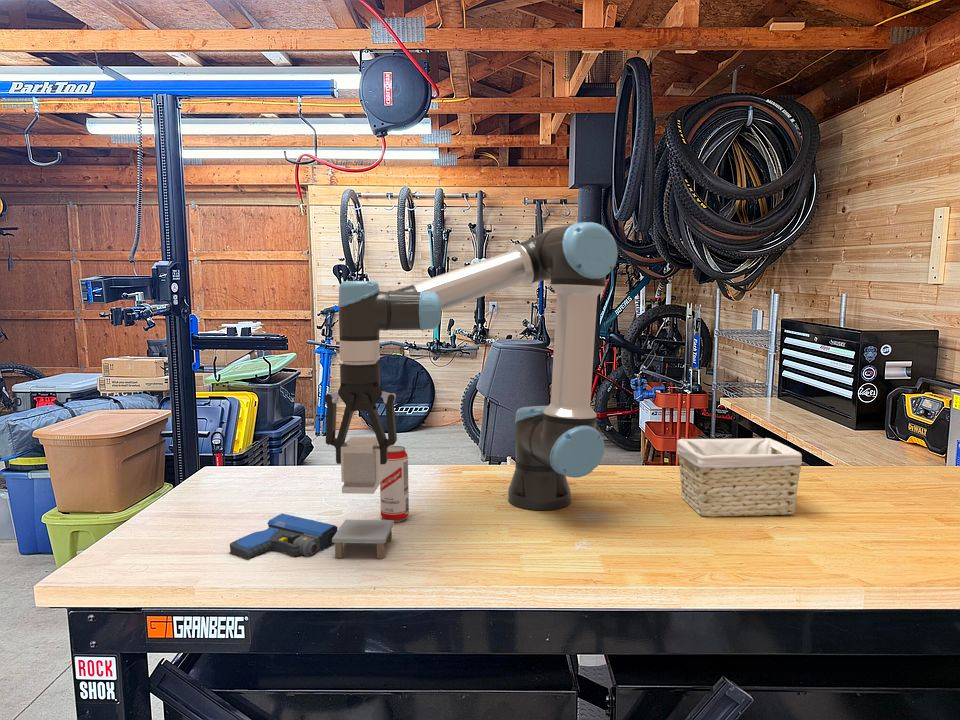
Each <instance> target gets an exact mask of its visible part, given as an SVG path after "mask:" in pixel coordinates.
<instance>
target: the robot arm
mask: <svg viewBox="0 0 960 720" xmlns="http://www.w3.org/2000/svg"><path fill="white" fill-rule="evenodd" d="M617 260H618V246H617V242H616V240H615V238H614V236H613V235H612V234H611V232H610V230H608V229H607V228H606V227H605V226H603V225H602V224H600V223H596V222H592V221H589V222H588V221H587V222H586V221H584V222H581V221H580V222H575V223H573V224H569V225H563V226H557V227H554V228H551V229H549V230H547V231H544V232H542V233H540V234H537V235H535V236H534V237H531V238H529V239H527V240H525V241H524V240H523V241H522V242H520V243H516V244H514V245H513V246H512V248H511V250H509V251H506V252H503V253H501V254H497V255H494V256H492V257H488V258H486V259H483V260H480V261H478V262H477V261H476V262H474V263H471V264H469V265H468V264H467V265H465V266H463V267H460V268H457V269H454V270H451V271H448V272H444V273H441V274H439V275H436V276H434V277H430V278H428V279H425V280H421V281H418V282H416V283H413V284H411V285H407V286H404V287H401V288H398V289H395V290H387V291H383V290H381V289H380V287H379V283H378V282H377V281H374V280H367V281H366V280H346V281H343V282H341V283H340V285H339V287H338V304H337V307H338V331H339V334H338V336H339V337H338V338H339V361H341V362H342V363H341V364H340V365H339V378H340V380H339V381H340V384H339V385H340V386H339V388H338V391H334V392H328V393H326V394H324V397H323V398H324V401H325V405H326V421H325V422H326V423H325V425H326V427H325V444H327V445H328V446H329V445H331V446H332V447H333V448H335V462H336V464H337V465H340V468H341V469H340V471H341V473H340V475H341V482H343V483H344V462H343V453H341V446H342V445H343V444H344V443H345V442H346V439H347V436H348V432H349V428H350V425H351V422H352V418H353V415H354V413H355V412H358V411H362V412H367V413H366V414H367V416H368V417H369V419H370V423H371V426H372V428H373V431H374V434H375V437H376V438H377V441H378V444H379V446H378V447H377V448H376V482H381V480H382V479H383V464H386V463H387V460H388V446H395V444H396V442H397V441H398V437H397V434H398V433H397V426H396V425H397V424H396V422H397V421H396V411H395V403H396V399H397V393H395V392H392V393H390V392H386V391H384V390H383V388H382V386H381V364H380V363H379V362H378V361H379V360H380V358H381V356H380V351H381V350H380V349H381V346H380V344H381V343H380V331H427V330H434V329H437V328H438V327H439V325H440V323H441V319H442V311H444V310H449V309H451V308H454V307H456V306H460V305H462V304H465V303H468V302H470V301H473V300H476V299H479V298H481V297H484V296H487V295H490V294H493V293H496V292H498V291H502V290H505V289H507V288H510V287H513V286H516V285H519V284H522V283H523V284H524V285H526V286H527V285H531V284H534V283H537V282H542V281H550V288H551V289H552V290H553V291H554V292H555V293H556V305H555V307H556V308H555V320H554V322H555V324H554V340H553V341H554V343H553V358H552V360H553V362H552V375H551V391H550V403H549V405H536V406H535V405H533V406H522V407H520V408H518V409H517V410H516V412H515V420H514V426H515V427H514V428H515V432H514V433H515V434H514V435H515V436H514V437H515V443H514V446H515V451H514V452H515V454H514V455H515V466H514V472H513V475H512V477H511V481H510V484H509V487H508V490H507V493H508V495H507V497H508V498H507V499H508V500H507V501H508V502H509V503H510V505H513V506H516V507H517V508H520V509H525V510H533V511H551V510H559V509H561V508H565V507H567V506H569V505H570V504H571V501H572V492H571V488H570V484H569V482H568V479H567V477H568V478H573V479H574V478H575V479H577V478H583V477H585V476H588V475H589V474H591V473H592V472H593V471H594V470H595V469H596V468H597V467H598V466H599V465H600V464H601V461H602V460H603V457H604V454H605V448H606V447H605V442H604V441H605V440H604V437H603V436H602V435H601V433H600V432H599V430H597V420H598V419H597V416H598V414H597V413H596V411H595V410H594V409H593V408H592V406H591V402H592V401H591V399H592V384H593V383H592V382H593V366H594V356H595V355H594V352H595V336H596V323H597V322H596V321H597V305H598V296H599V295H600V294H601V293H602V292H603V291H604V290H605V289H606V277H607V275H608V274H609V273H611V271H612V270H613V269H614V268H615V266H616V264H617ZM339 398H340V399H341V401H342V402H343V404H345V409H344V411H343V416H342V420H341V423H340V425H339V430H338V434H337V437H336V429H337V427H336V426H337V425H336V424H337V407H338V406H337V403H338V401H339ZM381 398H382V400H383V403H384V404H385V415H386V429H387V435H386V432H385V430H384V427H383V423H382V421H381V418H380V415H379V411H378V410H379V409H378V407H377V403H378V401H379V400H380V399H381Z"/></svg>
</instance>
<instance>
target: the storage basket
mask: <svg viewBox="0 0 960 720" xmlns="http://www.w3.org/2000/svg"><path fill="white" fill-rule="evenodd" d="M676 446H677V447H676V454H677V455H678V462H679V468H678V469H679V473H680V476H679V477H680V478H679V481H680V486H681V487H680V489H681V498H682V499H683V501H685V502H686V503H687V504H688V505H689V506H690V507H691V508H692V510H693V511H695V512H696V514H698V515H700V516H702V517H711V518H712V517H713V518H716V517H740V516H741V517H742V516H745V517H747V516H751V517H752V516H753V517H754V516H755V517H757V516H759V517H760V516H767V515H768V516H776V515H794V514H795V511H796V503H797V496H798V495H797V493H798V489H799V480H800V479H799V478H800V473H801V469H802V467H801V466H802V463H803V458H802V457H803V455H802V453H801V452H800V451H797V450H795V449H793V448H792V447H790V446H788V445H786V444H785V443H784V444H783V443H782V442H780V441H777V440H775V439H772V438H769V437H765V438H756V437H755V438H754V437H753V438H751V437H750V438H680V439H677V442H676Z"/></svg>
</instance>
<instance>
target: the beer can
mask: <svg viewBox="0 0 960 720" xmlns="http://www.w3.org/2000/svg"><path fill="white" fill-rule="evenodd" d="M409 493H410V492H409V457H408V453H407V452H406V447H404V446H401V445H391V446H388V460H387V463H386V464H383V479H382V482H381V483H380V485H379V494H380V495H379V497H380V500H379V501H380V505H379V506H380V517H381V519H382V520H394V524H395V523H401V522H404V521H405V520H406V519H407V518H408V516H409V515H410V499H409V497H410V496H409V495H410V494H409Z"/></svg>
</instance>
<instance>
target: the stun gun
mask: <svg viewBox="0 0 960 720" xmlns="http://www.w3.org/2000/svg"><path fill="white" fill-rule="evenodd" d="M266 524H268V527H267V528H266V529H263V530H259V531H255V532H252V533H250V534H247V535H245V536H242V537H240V538H238V539H236V540H235V541H231V542H229V550H230V554H232V555H234V556H236V557H239V558H241V559H245V560H247V561H248V560H250V559H251V558H254V557H256V556H258V555H261V554H264V553H267V552H269V551H270V550H271V551H276V552H280V553H283V554H287V555H288V556H293V557H296V556H300V555H302V556H306V557H311V556H313V555H314V554H316V553H317V551H321V552H322V551H325V549H328V548H330V547H332V546H335V543H332V538H333V537H334V535H335V534H336V532H337V531H338V528H339V527H338V526H336V525H335V524H331V523H326V522H322V521H317V520H312V519H308V518H304V517H300V516H295V515H290V514H286V513H280V514H278V515H276V516H274V517H273V518H271V519H270V518H269V520H268V521H267V523H266Z"/></svg>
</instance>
